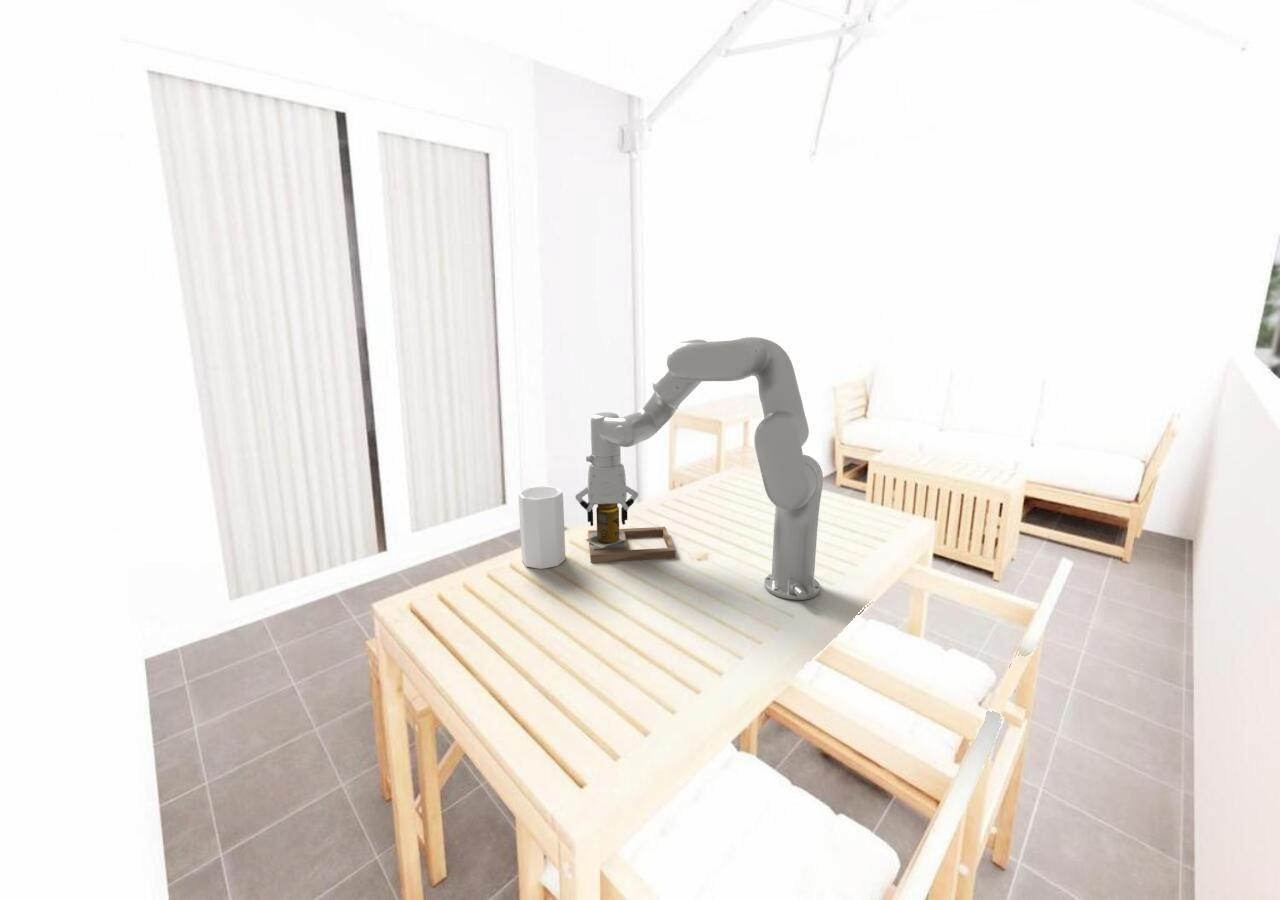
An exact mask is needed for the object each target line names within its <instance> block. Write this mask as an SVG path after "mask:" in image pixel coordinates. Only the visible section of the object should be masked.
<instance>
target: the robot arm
mask: <svg viewBox="0 0 1280 900" xmlns="http://www.w3.org/2000/svg"><path fill="white" fill-rule="evenodd" d="M753 376H754V377H755V378H756V381H757V383H758V396H759V400H760V403H761V407H762V408H761V409H762V413H763V417H764V418H763V419H762V420H761V421H760V422H759V424H758V425H757V427H756V429H755V432H754V441H753V442H754V449H755V453H756V457H757V461H758V465H759V466H758V467H759V470H760V474H761V478H762V482H763V486H764V487H763V488H764V491H765V493H766V495H767V497H768V499H769V500H770V502H771V503H772V504H773V505H774V506H775V509H774V511H775V512H774V521H773V522H774V523H773V524H774V525H773V526H774V527H773V539H772V540H773V542H772V543H773V544H772V545H773V546H772V559H771V560H772V563H771V565H772V566H771V573H770V574H768V575H767V576H766V577H765V578H764V587H765V590H767V591H768V592H769V593H770V594H772V595H773V596H776V597H778V598H783V599H787V600H793V601H794V600H795V601H803V600H805V601H806V600H810V599H813V598H815V597H816V596H818V595H819V594H820V593H821V585H820V582H819V581H818V580H817V579H815V571H816V570H815V569H816V556H817V555H816V552H817V538H818V528H819V527H818V526H819V514H820V505H821V498H822V492H823V485H824V484H823V483H824V476H823V469H822V468H821V466H820V463H819V462H818V461H817V460H816V459H814V458H813V457H811V456H810V455H807V454H804V452H803V450H802V449H803V448H802V447H803V446H804V444H805V443H806V442H807V441H808V439H809V435H810V434H809V433H810V430H809V424H808V421H807V416H806V413H805V409H804V404H803V401H802V397H801V392H800V389H799V385H798V381H797V377H796V373H795V368H794V365H793V363H792V361H791V358H790V356H789V354H788V353H787V352H786V351H785V349H784V348H782V346H780V345H779V344H777V343H776V342H774V341H772V340H769V339H768V338H767V339H765V338H761V337H755V336H753V337H752V336H751V337H748V336H747V337H743V338H736V339H733V340H721V341H707V340H704V339H691V340H687V341H686V340H685V341H681V342H678V343H677V344H675V345H674V346H673V347H672V348H671V350H670V351H669V353H668V355H667V358H666V367H664V369H663V370H662V371H661V372H660V373H659V374H658V375H657V376H656V377H655V378H654V379H653V382H652V388H653V391H654V392H653V394H652V396H651V397H649V399H648V400H647V402H645V404H644V405H643V406H642V407H641V408H640V409H639V410H638V411H637V412H634V413H630V414H628V415H625V416H622V417H620V415H618V414H617V413H614V412H598V413H594V414H593V415H592V416H591V417H590V434H591V435H590V440H591V441H590V442H591V454H590V455H589V456H586V458H585V460H586V462H587V463H590V464H589V466H588V467H589V468H588V473H587V474H588V476H587V486H586V487H585V488H583V489H582V490H581V491H579V492H578V493H576V494H575V499H576V500H577V501H576V502H578V503H579V504H580V506H581V507H582V508H583V509H584V510H586V512H587V513H586V514H587V523H590V526H591V527H593V526H594V512H593V511H594V507H595V506H596V505H598V504H620V505H621V509H620V510H621V511H620V513H621V514H620V515H621V516H620V517H621V520H620V521H621V523H622V525H626V521H628V510H629V508H630V507H632V505H633V504H634V503H635V501H636V499H638V497H639V493H638V492H637V491H636V490H635V489H633V488H631V487H630V486H628V485H627V480H626V479H627V478H626V472H625V470H626V469H625V465H624V464H623V463H621V462H622V461H621V447H622V448H630V447H634V446H636V445H638V444H640V443H641V442H644V441H647V440H649V439H650V438H652V437H654V435H656V434H657V433H658V432H659V431H660V430H661V429H662V428H663V426H664V425H666V423H668V422H669V421H670V419H671V418H672V417H673V415H674V414H675V412H677V410H678V409H679V406H680V405H681V404H682V402H683V401H684V400H685V399H687V398H688V396H690V394H691V393H692V392H693V391H695V389H696V388H697V387H698V386H700V384H701V383H702V382H737V381H740V380H744V379H747V378H750V377H753ZM627 494H628V495H631V496H630V497H629V498H628V499H627ZM586 495H587V500H588V502H587V501H585V499H583V497H584V496H586Z"/></svg>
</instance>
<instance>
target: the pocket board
mask: <svg viewBox="0 0 1280 900" xmlns="http://www.w3.org/2000/svg"><path fill="white" fill-rule="evenodd" d="M587 532H588V536H587V537H588V538H592V537H594V536H597V529H595V530H594V529H593V530H587ZM619 537H622V538H624V539H626V540H624V541H621V542H618V543H615V544H612V545H609V546H607V547H604V548H601V547H598V546H596V545H594V544H591V543H590V542H588V545H589V546H588V547H589V556H590V563H602V562H603V563H605V562H606V563H607V562H620V561H621V562H622V561H623V562H624V561H625V562H626V561H642V560H658V559H661V560H662V559H675V558H676V549H675V546H674V544H673V541H672V540H671V537H670V535H669V533H668V530H667V528H666V526H656V527H655V526H654V527H634V528H633V527H632V528H619ZM652 537H662V538H663V541H664V543H665V545H666V547H657V548H642V549H629V545H628V542H627V539H632V538H634V539H635V538H652ZM588 538H587V539H588Z"/></svg>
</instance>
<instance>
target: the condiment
mask: <svg viewBox="0 0 1280 900" xmlns="http://www.w3.org/2000/svg"><path fill="white" fill-rule="evenodd" d="M595 510H596V511H595V512H596V530H597V536H594V537H592V538H586V539H585V540H584V541H586V542H588V543H589V542H590V543H591V544H594V545H596V546H598V547H601V548H604V547H607V546H609V545H612V544H615V543H618V542H621V541H624V540H626V541H627V538H626V539H624V538H622V537H619V529H620V508H619V506H618V504H597V506H596V509H595Z"/></svg>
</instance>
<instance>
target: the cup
mask: <svg viewBox="0 0 1280 900" xmlns="http://www.w3.org/2000/svg"><path fill="white" fill-rule="evenodd" d="M517 495H518V496H517V498H518V512H519V513H518V514H519V515H518V516H519V527H520V528H519V529H520V549H521V561H522V562H523V563H524V565H525V567H527V568H532V569H539V570H544V569H550V568H554V567H558V566H559V565H560V564H562V563H563V562H564V561H565V560H566V539H565V538H566V537H565V535H566V534H565V517H564V516H565V510H564V492H563V491H562V490H561V489H560V488H559V487H555V486H550V485H549V486H547V485H539V486H532V487H527V488H525V489H523V490H521V491H519V492H518V493H517Z"/></svg>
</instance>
